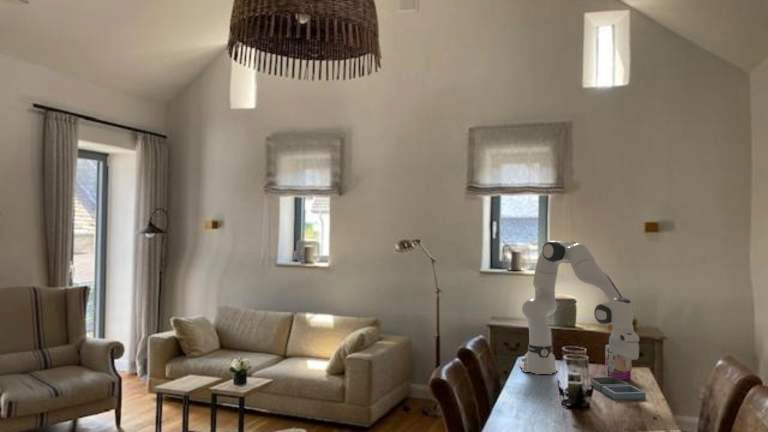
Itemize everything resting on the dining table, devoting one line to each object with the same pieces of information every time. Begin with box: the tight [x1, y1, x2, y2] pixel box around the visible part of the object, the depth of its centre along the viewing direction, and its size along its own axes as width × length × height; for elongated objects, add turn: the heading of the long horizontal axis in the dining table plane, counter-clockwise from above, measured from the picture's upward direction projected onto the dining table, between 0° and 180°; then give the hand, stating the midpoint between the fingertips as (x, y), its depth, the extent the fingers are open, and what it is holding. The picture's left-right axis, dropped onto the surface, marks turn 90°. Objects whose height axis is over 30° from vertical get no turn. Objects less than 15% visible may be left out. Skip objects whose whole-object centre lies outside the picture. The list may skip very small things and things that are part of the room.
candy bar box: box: [604, 344, 632, 381], centre depth 287 cm, size 11×5×16 cm, turn 84°
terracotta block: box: [615, 357, 633, 372], centre depth 258 cm, size 5×5×5 cm
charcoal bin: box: [590, 376, 631, 393], centre depth 273 cm, size 14×14×3 cm
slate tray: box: [601, 384, 646, 401], centre depth 258 cm, size 12×14×3 cm
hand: (623, 365), depth 258 cm, fingers closed on terracotta block, 5 cm apart
